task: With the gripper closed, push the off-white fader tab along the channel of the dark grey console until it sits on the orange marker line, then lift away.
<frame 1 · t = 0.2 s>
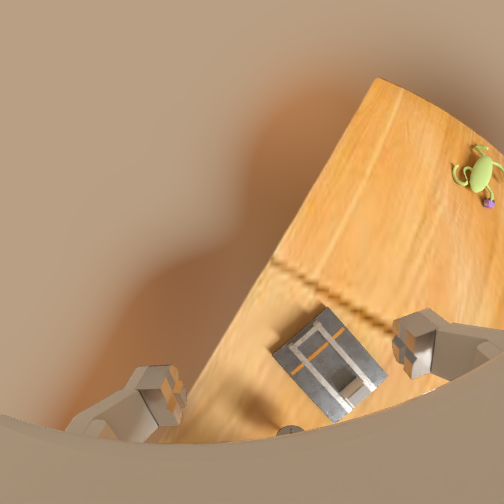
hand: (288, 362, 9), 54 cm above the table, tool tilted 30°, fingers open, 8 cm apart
fader tab: (355, 392, 50), point 6 cm above the table, slide at 0.0 cm
figurine: (481, 177, 66), on the table
console: (331, 366, 58), on the table
wine glass: (291, 438, 54), on the table
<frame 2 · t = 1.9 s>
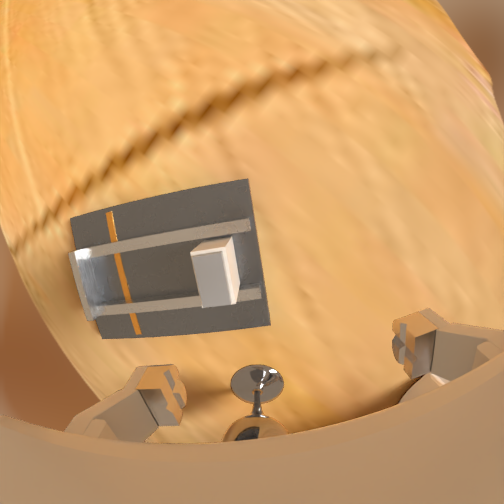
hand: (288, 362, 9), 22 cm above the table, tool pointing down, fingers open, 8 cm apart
fader tab: (217, 270, 26), point 6 cm above the table, slide at 0.0 cm
console: (165, 266, 32), on the table
wine glass: (257, 384, 35), on the table
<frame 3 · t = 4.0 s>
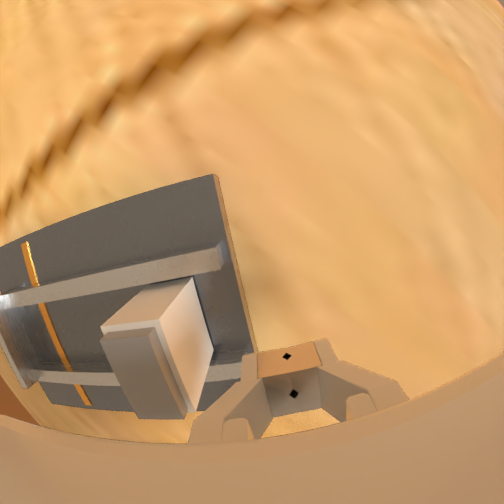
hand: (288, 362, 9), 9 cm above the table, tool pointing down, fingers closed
fader tab: (164, 345, 14), point 6 cm above the table, slide at 0.0 cm
console: (107, 317, 20), on the table
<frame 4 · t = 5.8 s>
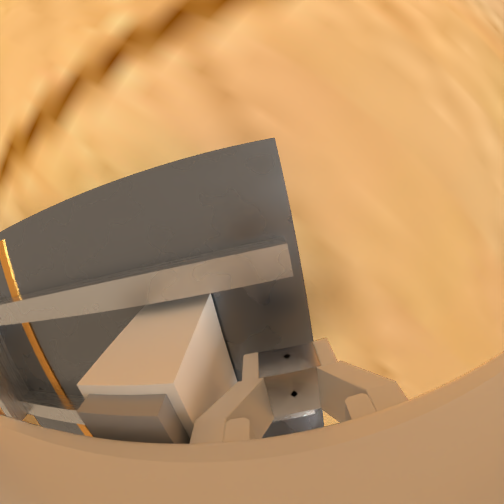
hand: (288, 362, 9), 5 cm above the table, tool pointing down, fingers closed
fader tab: (176, 396, 9), point 6 cm above the table, slide at 1.3 cm, touching gripper
console: (112, 338, 15), on the table
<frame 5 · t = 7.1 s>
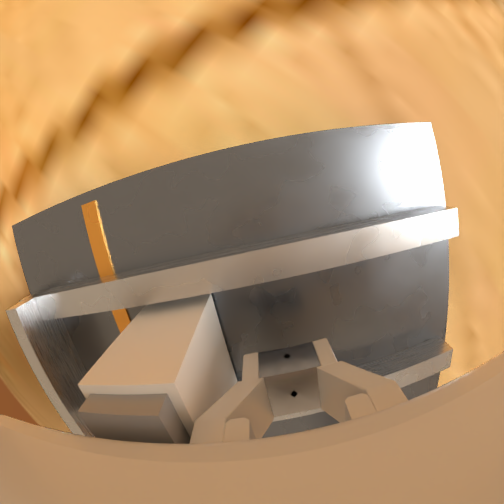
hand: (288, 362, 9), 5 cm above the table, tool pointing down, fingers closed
fader tab: (176, 395, 9), point 6 cm above the table, slide at 8.9 cm, touching gripper
console: (236, 321, 14), on the table
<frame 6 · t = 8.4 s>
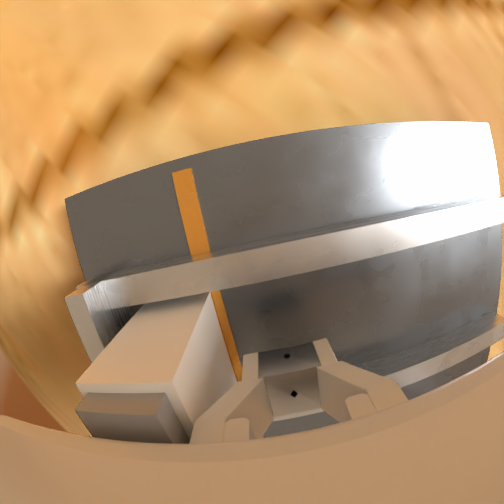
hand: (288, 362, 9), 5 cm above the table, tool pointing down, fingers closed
fader tab: (175, 395, 9), point 6 cm above the table, slide at 13.5 cm, touching gripper
console: (325, 301, 14), on the table
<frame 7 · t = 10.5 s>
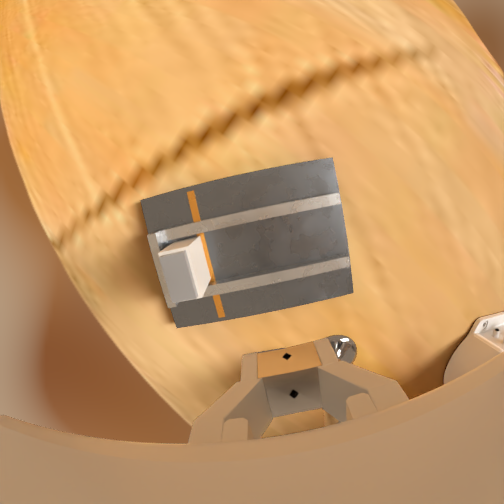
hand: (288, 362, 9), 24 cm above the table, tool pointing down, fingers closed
fader tab: (186, 268, 28), point 6 cm above the table, slide at 13.5 cm
console: (250, 244, 33), on the table
wine glass: (333, 356, 37), on the table
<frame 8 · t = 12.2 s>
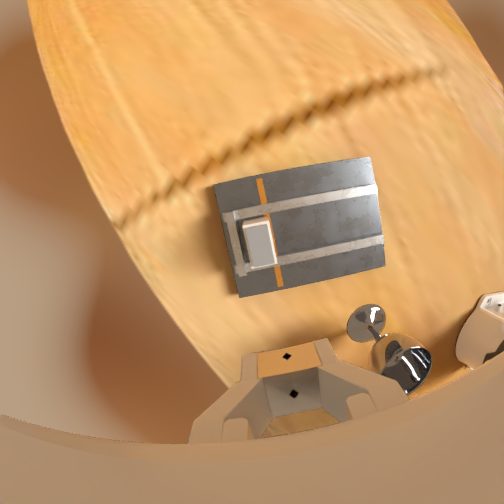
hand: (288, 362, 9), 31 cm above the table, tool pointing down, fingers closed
fader tab: (259, 240, 34), point 6 cm above the table, slide at 13.5 cm
console: (304, 224, 40), on the table
wine glass: (366, 323, 43), on the table
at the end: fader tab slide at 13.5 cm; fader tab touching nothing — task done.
